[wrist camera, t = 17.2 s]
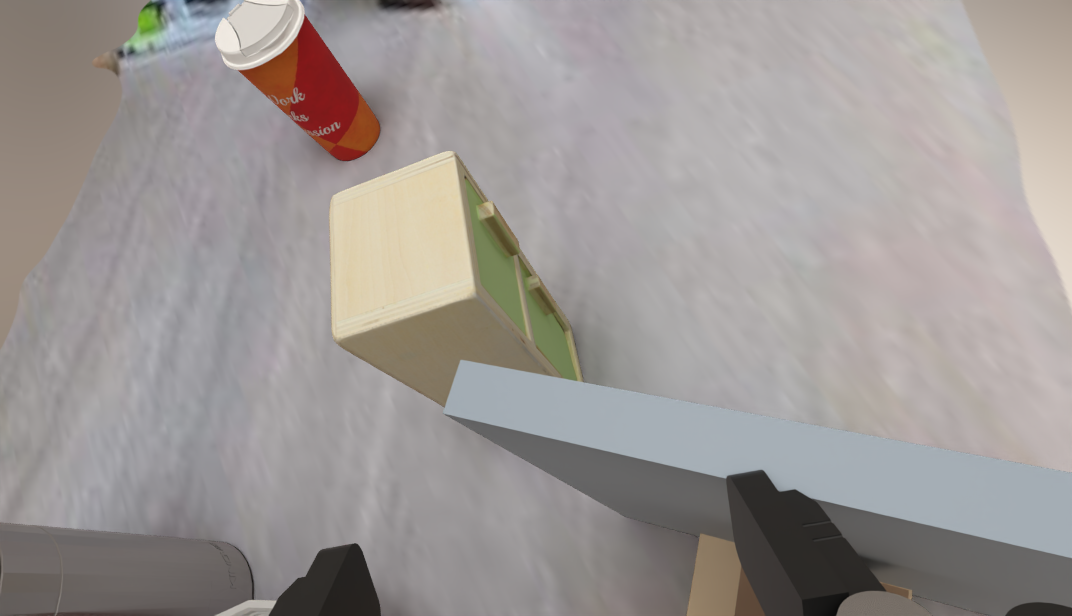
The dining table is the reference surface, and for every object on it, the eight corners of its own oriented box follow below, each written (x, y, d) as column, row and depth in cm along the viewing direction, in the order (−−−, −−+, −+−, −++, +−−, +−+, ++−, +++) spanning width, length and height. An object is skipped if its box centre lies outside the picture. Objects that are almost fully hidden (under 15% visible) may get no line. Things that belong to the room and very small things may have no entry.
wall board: (1008, 803, 27) (2200, 1798, 5) (596, 650, 35) (327, 762, 13) (1008, 473, 32) (1588, 216, 10) (648, 404, 40) (522, 174, 18)
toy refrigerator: (605, 421, 41) (490, 288, 23) (507, 447, 42) (325, 343, 24) (581, 320, 44) (466, 138, 26) (492, 348, 46) (324, 193, 28)
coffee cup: (308, 150, 63) (194, 38, 50) (360, 96, 64) (262, -27, 51) (350, 183, 59) (237, 70, 46) (405, 124, 60) (311, -3, 47)
